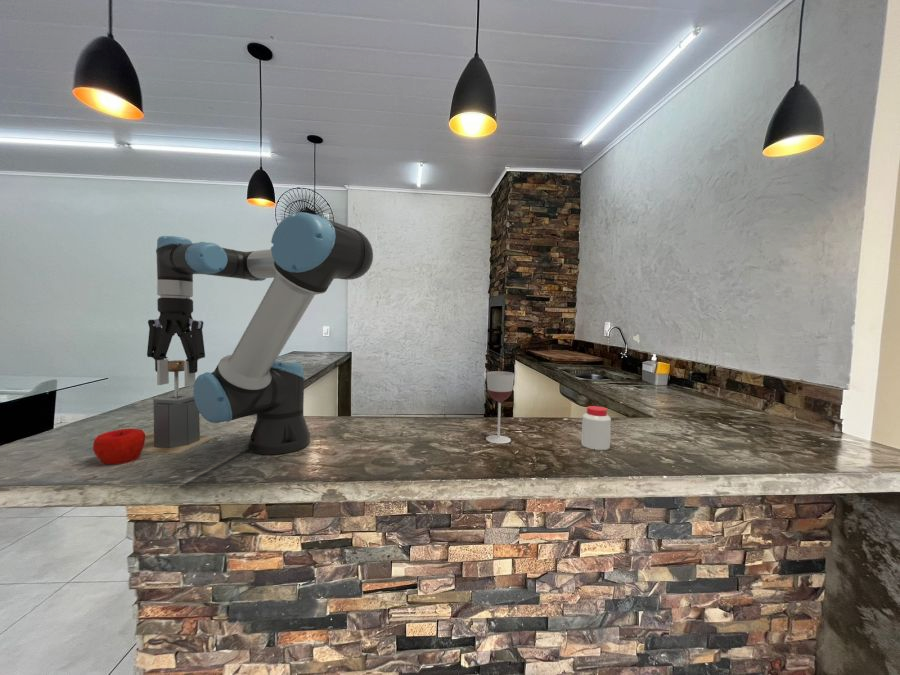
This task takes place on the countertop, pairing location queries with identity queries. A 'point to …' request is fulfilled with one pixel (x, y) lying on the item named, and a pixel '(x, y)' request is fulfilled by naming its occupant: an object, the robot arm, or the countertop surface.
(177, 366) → the plunger
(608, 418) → the pill bottle
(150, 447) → the board
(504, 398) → the wineglass
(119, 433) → the apple
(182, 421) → the gray octagonal holder
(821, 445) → the countertop surface
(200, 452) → the countertop surface
